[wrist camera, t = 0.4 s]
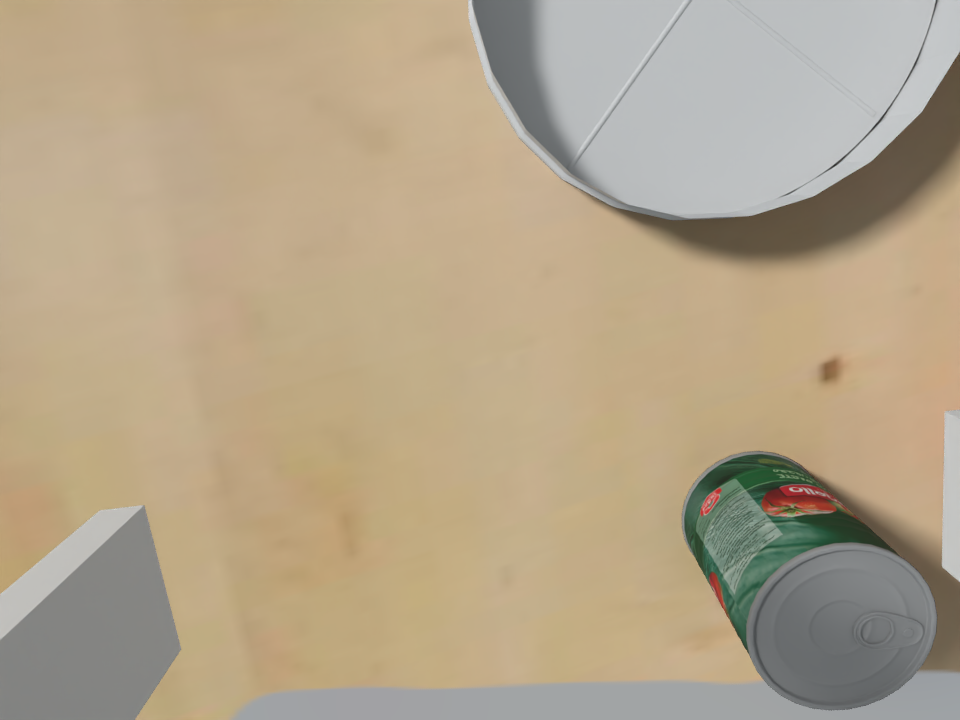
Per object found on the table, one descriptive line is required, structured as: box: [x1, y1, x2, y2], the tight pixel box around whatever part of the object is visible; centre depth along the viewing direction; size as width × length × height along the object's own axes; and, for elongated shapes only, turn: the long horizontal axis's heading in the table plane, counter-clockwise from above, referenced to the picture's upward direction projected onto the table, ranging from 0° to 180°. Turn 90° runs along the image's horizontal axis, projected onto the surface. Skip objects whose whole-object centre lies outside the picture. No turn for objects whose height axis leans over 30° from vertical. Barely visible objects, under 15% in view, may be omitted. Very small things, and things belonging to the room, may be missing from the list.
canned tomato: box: [682, 451, 937, 710], centre depth 36 cm, size 8×8×11 cm
